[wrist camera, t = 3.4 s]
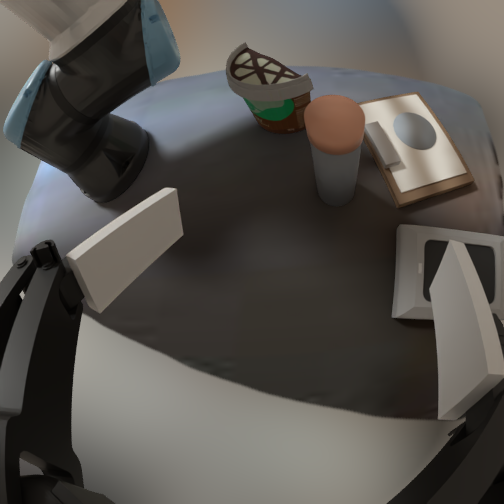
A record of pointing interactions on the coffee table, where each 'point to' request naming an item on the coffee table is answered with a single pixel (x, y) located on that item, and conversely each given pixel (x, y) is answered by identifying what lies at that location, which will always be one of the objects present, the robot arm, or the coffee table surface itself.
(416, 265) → the grey framed panel
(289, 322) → the coffee table surface
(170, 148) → the coffee table surface
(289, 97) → the food container
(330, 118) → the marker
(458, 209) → the coffee table surface
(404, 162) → the clipboard
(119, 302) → the coffee table surface
